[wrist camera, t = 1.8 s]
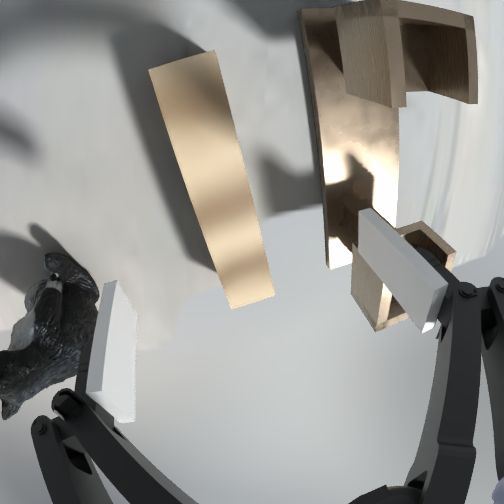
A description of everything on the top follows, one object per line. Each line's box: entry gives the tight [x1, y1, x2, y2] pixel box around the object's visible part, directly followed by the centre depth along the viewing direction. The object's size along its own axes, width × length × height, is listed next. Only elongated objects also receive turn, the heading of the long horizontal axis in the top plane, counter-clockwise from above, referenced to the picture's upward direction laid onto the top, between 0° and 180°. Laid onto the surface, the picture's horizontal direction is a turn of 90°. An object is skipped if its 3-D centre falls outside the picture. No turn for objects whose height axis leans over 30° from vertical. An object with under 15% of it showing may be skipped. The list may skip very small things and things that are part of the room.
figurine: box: [0, 253, 99, 420], centre depth 21 cm, size 10×10×15 cm
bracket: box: [297, 0, 478, 332], centre depth 21 cm, size 25×8×10 cm, turn 11°
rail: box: [149, 50, 275, 309], centre depth 23 cm, size 20×4×5 cm, turn 12°
